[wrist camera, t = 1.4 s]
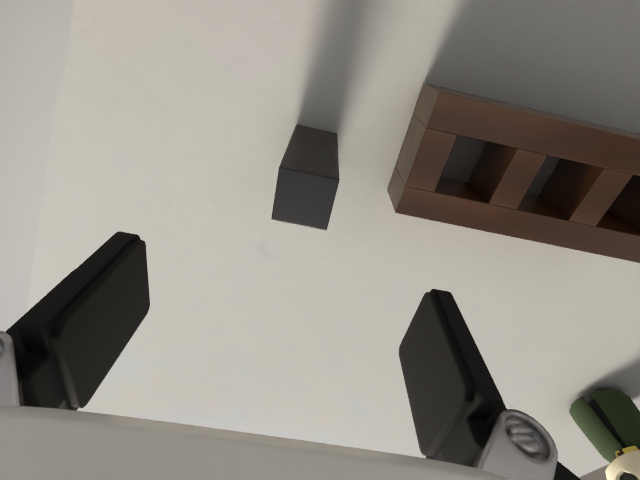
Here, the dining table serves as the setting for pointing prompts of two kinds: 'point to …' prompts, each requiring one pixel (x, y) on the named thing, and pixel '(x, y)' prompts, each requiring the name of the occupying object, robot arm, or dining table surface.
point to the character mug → (612, 431)
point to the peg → (307, 179)
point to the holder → (522, 174)
